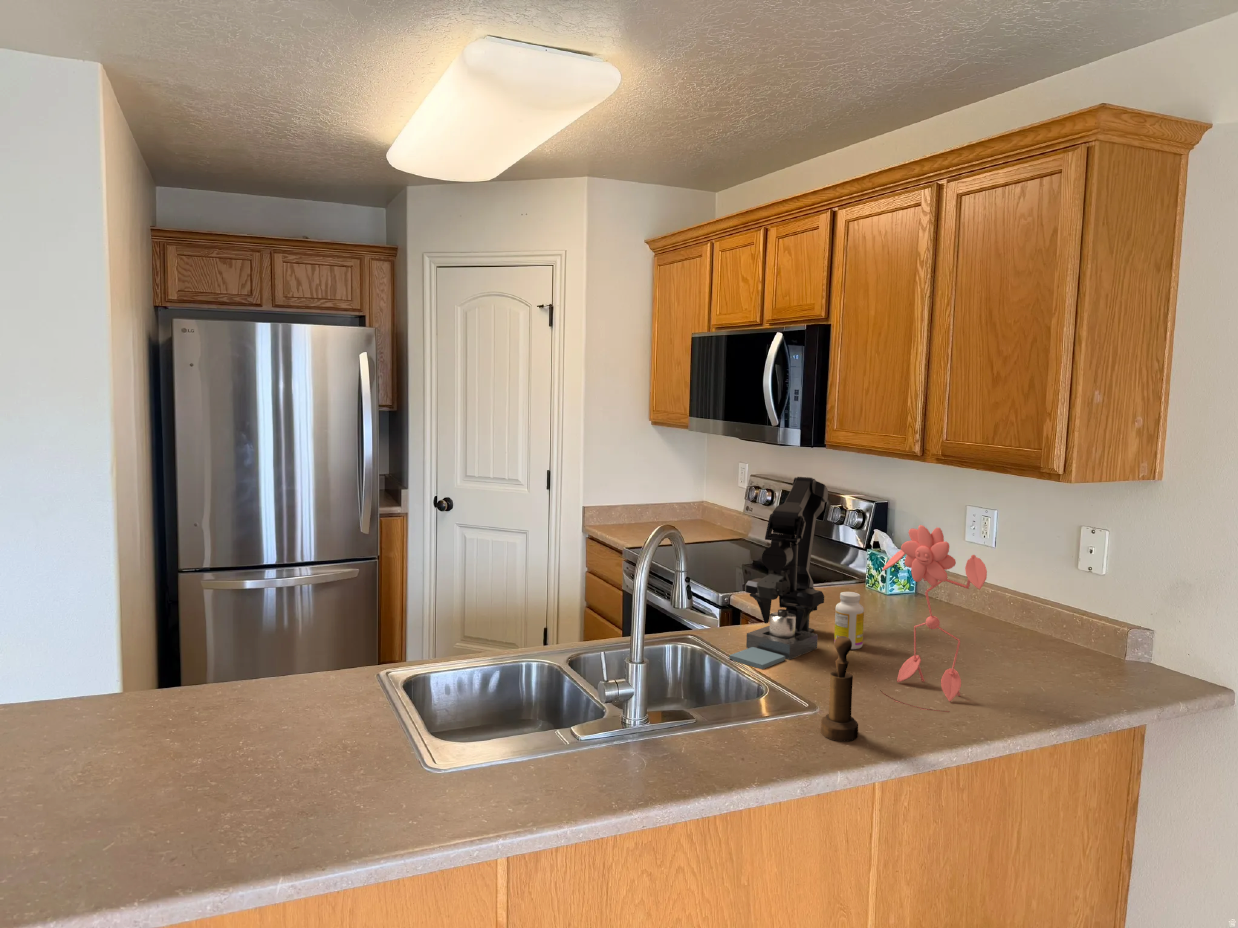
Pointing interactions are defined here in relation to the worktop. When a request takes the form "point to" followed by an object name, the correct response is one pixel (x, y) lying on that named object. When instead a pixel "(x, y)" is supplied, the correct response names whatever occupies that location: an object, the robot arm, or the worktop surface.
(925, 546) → the figurine
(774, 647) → the frame
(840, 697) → the mortar and pestle
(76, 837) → the worktop surface
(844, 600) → the supplement bottle
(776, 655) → the mat
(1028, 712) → the worktop surface
